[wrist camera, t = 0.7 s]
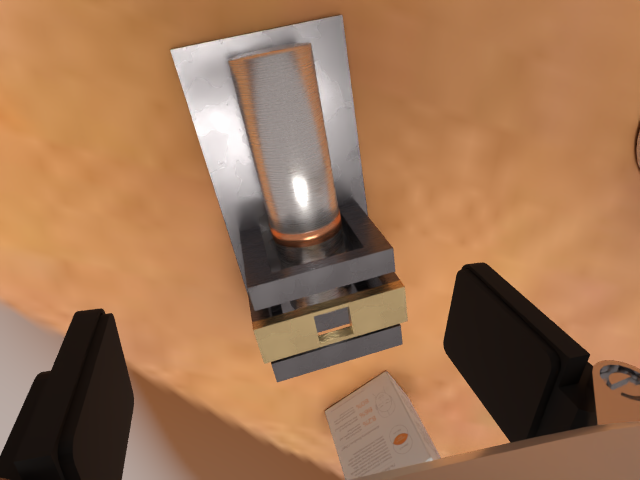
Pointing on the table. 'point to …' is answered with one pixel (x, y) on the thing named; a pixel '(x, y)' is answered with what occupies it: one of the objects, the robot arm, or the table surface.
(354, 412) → the small box
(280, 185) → the tube
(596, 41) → the table surface
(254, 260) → the rail
